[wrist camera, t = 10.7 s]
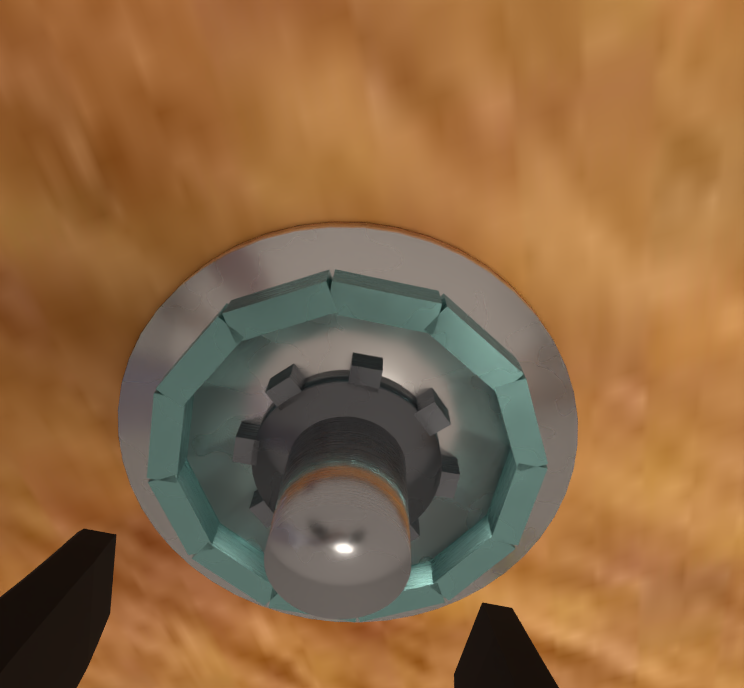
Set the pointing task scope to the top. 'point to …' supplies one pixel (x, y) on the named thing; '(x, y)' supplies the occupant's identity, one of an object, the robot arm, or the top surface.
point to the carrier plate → (334, 352)
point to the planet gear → (344, 484)
